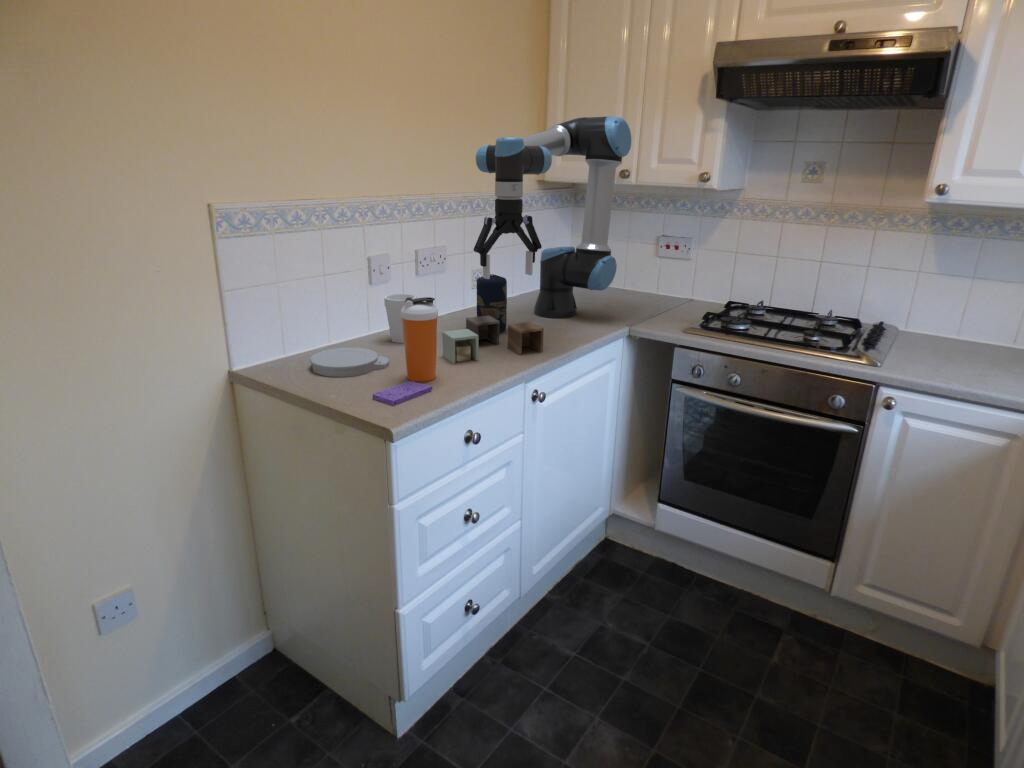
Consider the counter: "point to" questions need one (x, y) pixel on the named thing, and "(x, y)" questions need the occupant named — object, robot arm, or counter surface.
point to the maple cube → (462, 351)
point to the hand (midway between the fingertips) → (507, 276)
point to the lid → (347, 362)
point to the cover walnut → (525, 336)
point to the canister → (492, 298)
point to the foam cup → (396, 315)
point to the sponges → (402, 393)
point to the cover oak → (484, 327)
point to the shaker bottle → (420, 338)
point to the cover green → (459, 337)
